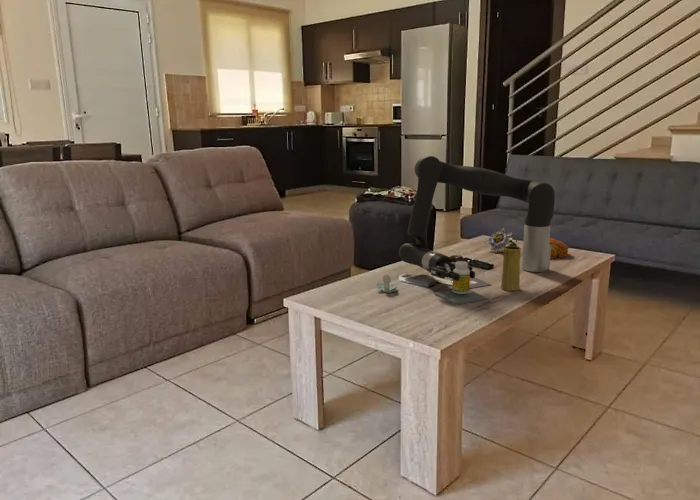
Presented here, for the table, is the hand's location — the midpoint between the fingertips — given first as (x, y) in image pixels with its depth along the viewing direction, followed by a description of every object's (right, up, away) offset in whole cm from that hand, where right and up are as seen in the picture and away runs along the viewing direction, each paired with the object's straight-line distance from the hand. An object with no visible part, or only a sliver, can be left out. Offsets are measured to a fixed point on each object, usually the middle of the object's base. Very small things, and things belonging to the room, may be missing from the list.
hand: (466, 276), depth 173 cm
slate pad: (-1, -7, +4) cm, 8 cm away
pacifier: (-24, -6, +12) cm, 27 cm away
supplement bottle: (-1, -5, +4) cm, 7 cm away
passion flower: (+29, +8, +64) cm, 71 cm away
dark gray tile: (+6, -3, +18) cm, 20 cm away
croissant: (+47, +6, +56) cm, 73 cm away
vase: (+17, -5, +12) cm, 22 cm away
